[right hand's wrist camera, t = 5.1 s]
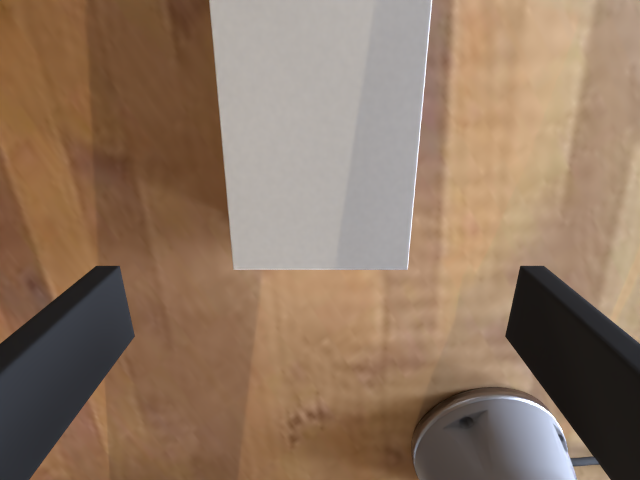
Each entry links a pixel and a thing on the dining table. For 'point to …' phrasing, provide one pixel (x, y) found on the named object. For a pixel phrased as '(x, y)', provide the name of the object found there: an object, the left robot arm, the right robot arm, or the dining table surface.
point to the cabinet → (320, 129)
